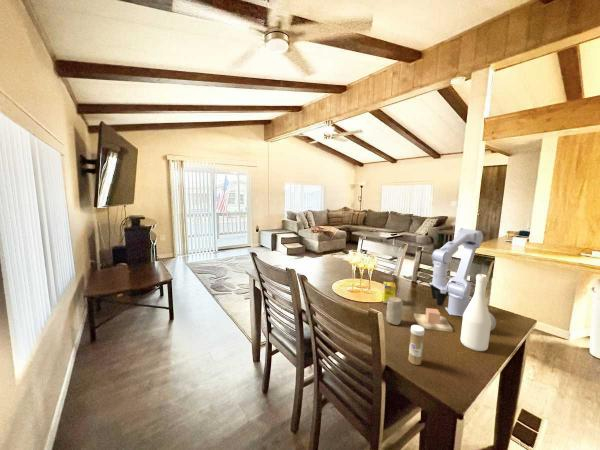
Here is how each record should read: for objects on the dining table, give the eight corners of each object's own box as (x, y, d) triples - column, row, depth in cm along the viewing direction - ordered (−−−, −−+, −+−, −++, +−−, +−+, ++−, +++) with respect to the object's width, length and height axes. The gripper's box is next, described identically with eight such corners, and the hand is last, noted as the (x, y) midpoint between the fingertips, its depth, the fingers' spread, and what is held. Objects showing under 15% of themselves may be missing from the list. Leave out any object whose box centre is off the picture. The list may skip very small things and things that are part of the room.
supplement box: (394, 305, 143) (396, 286, 142) (383, 304, 144) (384, 285, 143) (393, 300, 149) (394, 282, 147) (382, 299, 150) (383, 281, 149)
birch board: (444, 319, 129) (444, 316, 129) (452, 331, 117) (452, 329, 117) (413, 315, 132) (414, 313, 132) (419, 327, 120) (419, 325, 120)
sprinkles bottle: (406, 361, 96) (409, 327, 94) (410, 355, 100) (413, 323, 98) (419, 367, 93) (422, 332, 91) (423, 361, 97) (426, 327, 95)
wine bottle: (488, 355, 101) (498, 281, 97) (460, 347, 106) (467, 276, 102) (486, 343, 109) (495, 274, 105) (460, 336, 114) (467, 269, 110)
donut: (493, 332, 117) (496, 311, 116) (495, 335, 114) (498, 314, 113) (467, 326, 122) (470, 306, 121) (468, 329, 119) (470, 309, 118)
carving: (404, 324, 123) (406, 300, 121) (392, 327, 120) (393, 302, 118) (395, 318, 129) (396, 295, 127) (382, 320, 126) (384, 297, 124)
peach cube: (436, 318, 126) (437, 309, 125) (439, 324, 121) (440, 314, 121) (425, 317, 127) (426, 308, 127) (427, 322, 122) (428, 312, 122)
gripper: (426, 269, 131) (424, 295, 133) (434, 279, 117) (432, 307, 119) (442, 270, 130) (439, 296, 132) (452, 280, 116) (449, 309, 118)
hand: (437, 302), depth 125 cm, fingers open, 7 cm apart
